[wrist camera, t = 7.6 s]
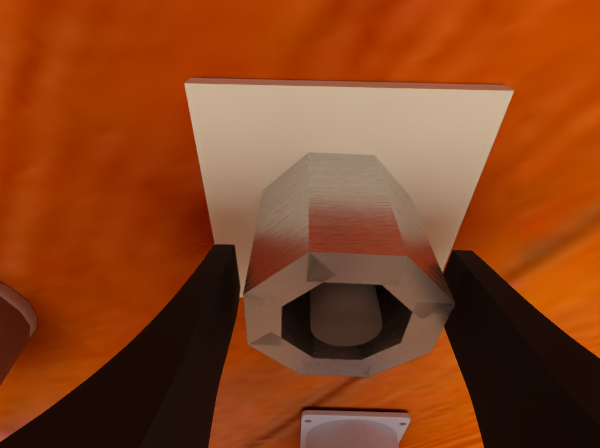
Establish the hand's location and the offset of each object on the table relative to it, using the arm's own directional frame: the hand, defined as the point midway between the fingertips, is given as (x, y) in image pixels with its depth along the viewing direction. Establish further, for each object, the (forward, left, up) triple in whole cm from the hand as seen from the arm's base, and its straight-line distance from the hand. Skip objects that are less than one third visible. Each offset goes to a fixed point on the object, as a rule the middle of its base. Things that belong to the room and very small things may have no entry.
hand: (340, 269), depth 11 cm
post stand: (0, 0, -3) cm, 3 cm away
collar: (0, 0, -3) cm, 3 cm away
